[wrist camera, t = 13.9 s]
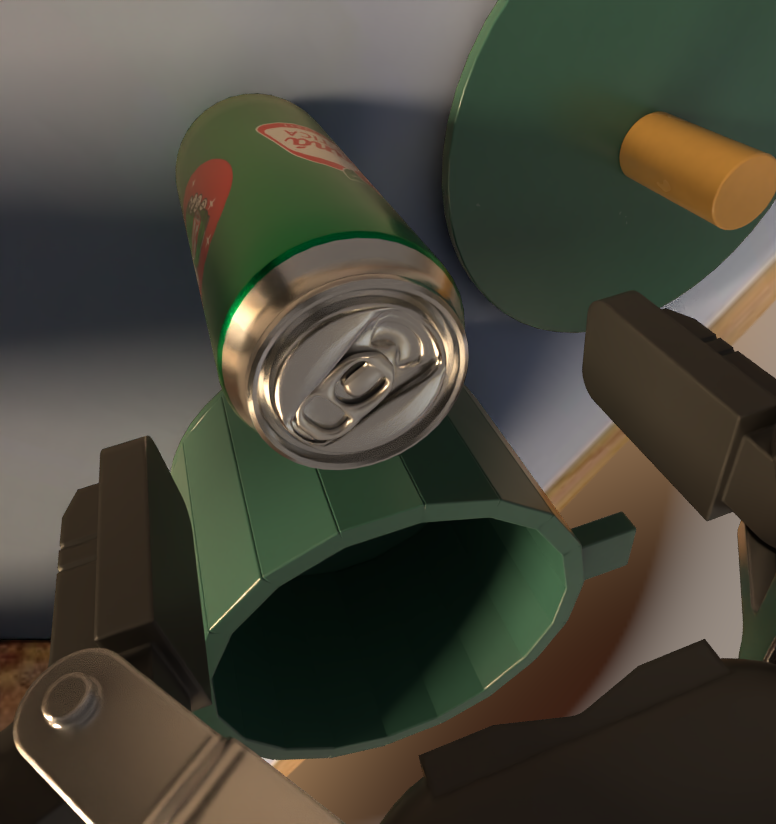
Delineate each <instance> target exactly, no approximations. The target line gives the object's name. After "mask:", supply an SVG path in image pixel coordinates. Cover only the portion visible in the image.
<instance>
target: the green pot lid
mask: <svg viewBox="0 0 776 824" xmlns="http://www.w3.org/2000/svg"><path fill="white" fill-rule="evenodd" d="M442 193H443V203H444V214H445V218H446V222H447V226H448V231H449V235H450V239H451V241H452V244H453V246H454V249H455V251H456V254H457V257H458V259H459V261H460V263H461V265H462V266H463V268H464V270H465V271H466V273H467V275H468V276H469V278H470V280H471V281H472V282H473V283H474V284H475V285H476V287H477V288H478V289H479V290H480V291H481V293H482V294H483V295H484V296H485V297H486V298H487V299H488V300H489V301H490V302H491V303H492V304H494V305H495V306H496V307H497V308H498V309H500V310H501V311H502V312H503V313H505V314H507V315H508V316H510V317H512V318H514V319H515V320H517V321H519V322H521V323H524V324H527V325H529V326H532V327H535V328H538V329H543V330H549V331H554V332H570V333H578V332H586V323H587V313H588V309H589V306H590V305H591V304H592V302H594V301H597V300H600V299H604V298H607V297H610V296H613V295H617V294H620V293H623V292H627V291H630V290H634V291H637V292H639V293H640V294H642V295H643V296H644V297H646V298H647V299H648V300H650V301H651V302H652V303H654V304H655V305H656V306H657V307H659V308H661V307H662V306H664V305H666V304H668V303H669V302H671V301H673V300H675V299H676V298H678V297H679V296H681V295H682V294H683V293H685V292H686V291H688V290H689V289H691V288H692V287H694V286H695V285H696V284H698V283H699V282H700V281H701V280H702V279H704V278H705V277H706V276H707V275H709V274H710V273H711V272H712V271H713V270H715V269H716V268H717V267H718V266H719V265H720V264H721V263H722V262H723V261H724V260H725V259H726V258H727V257H728V256H729V255H730V254H731V253H732V252H733V251H735V249H736V248H737V247H738V246H739V245H740V244H741V243H742V242H743V241H744V239H745V238H746V237H747V236H748V235H749V234H750V233H751V232H752V230H753V229H754V228H755V227H756V225H757V224H758V223H759V221H760V220H761V219H762V218H763V216H764V215H765V214H766V212H767V211H768V210H769V209H770V207H771V206H772V204H773V203H774V201H775V200H776V0H498V2H497V3H496V5H495V6H494V8H493V10H492V11H491V13H490V14H489V16H488V18H487V19H486V21H485V23H484V25H483V27H482V29H481V31H480V33H479V35H478V37H477V39H476V41H475V43H474V45H473V47H472V49H471V51H470V53H469V56H468V58H467V61H466V64H465V66H464V69H463V72H462V74H461V77H460V80H459V82H458V85H457V88H456V91H455V95H454V99H453V103H452V107H451V110H450V114H449V118H448V122H447V128H446V135H445V142H444V149H443V160H442Z"/></svg>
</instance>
